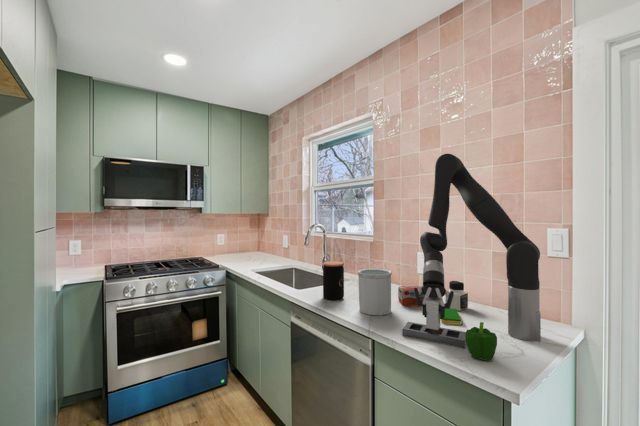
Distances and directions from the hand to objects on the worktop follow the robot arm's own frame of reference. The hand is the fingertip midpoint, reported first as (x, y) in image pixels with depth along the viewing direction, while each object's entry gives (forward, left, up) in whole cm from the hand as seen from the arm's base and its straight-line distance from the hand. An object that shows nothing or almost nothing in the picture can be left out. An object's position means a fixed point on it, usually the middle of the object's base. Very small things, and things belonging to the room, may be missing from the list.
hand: (433, 317), depth 104 cm
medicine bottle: (-3, -41, -8) cm, 42 cm away
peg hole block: (0, -2, -8) cm, 8 cm away
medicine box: (+15, -38, -8) cm, 41 cm away
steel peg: (0, -2, -4) cm, 5 cm away
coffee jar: (+53, -27, -8) cm, 60 cm away
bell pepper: (-15, +6, -8) cm, 18 cm away
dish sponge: (-2, -25, -8) cm, 26 cm away
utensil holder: (+28, -19, -8) cm, 35 cm away
